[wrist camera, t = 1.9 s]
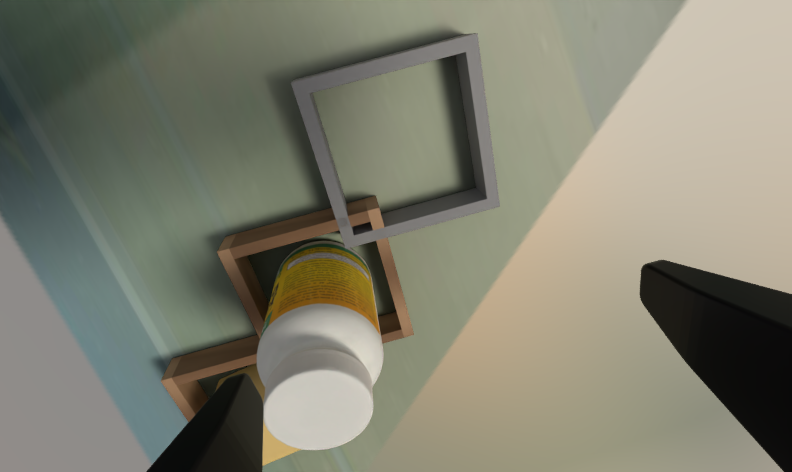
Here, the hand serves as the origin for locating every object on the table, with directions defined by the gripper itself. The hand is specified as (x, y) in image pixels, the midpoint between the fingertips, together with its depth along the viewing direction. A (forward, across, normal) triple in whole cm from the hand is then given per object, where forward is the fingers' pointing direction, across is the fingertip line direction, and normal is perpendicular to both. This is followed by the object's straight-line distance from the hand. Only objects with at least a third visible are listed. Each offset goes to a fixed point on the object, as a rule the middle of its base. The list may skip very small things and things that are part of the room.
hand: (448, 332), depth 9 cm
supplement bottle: (+14, +5, +6) cm, 16 cm away
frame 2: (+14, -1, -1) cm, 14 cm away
